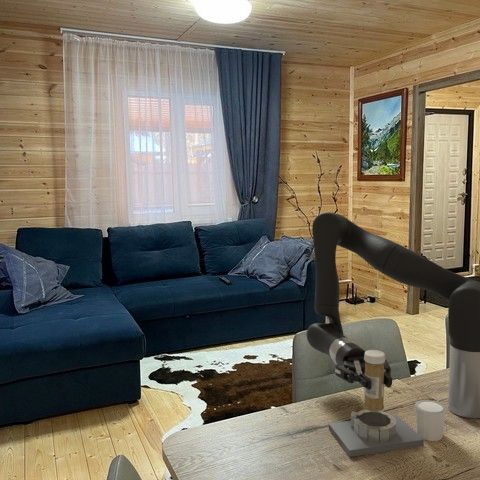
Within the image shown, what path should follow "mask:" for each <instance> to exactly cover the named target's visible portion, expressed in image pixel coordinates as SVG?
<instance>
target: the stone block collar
mask: <svg viewBox="0 0 480 480" xmlns="http://www.w3.org/2000/svg"><path fill="white" fill-rule="evenodd" d="M392 415H393V414H391V413H388V412H386V411H383V410H382V411H378V412H373V411H369V410H367V409H362V410H359V411H358V412H357V411H353V410H352V411H351V414H350V421H351V428H354V432H355V433H356V434H357V436H359V437H360V438H362V439H365V440H367V441H372V442H387V441H391V440H392V439H393V438H395V437H396V419H395V418H394V417H393V416H392ZM371 423H372V424H380V425H382V426H383V427H373V426H368V425H366V424H371Z"/></svg>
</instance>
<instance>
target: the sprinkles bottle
mask: <svg viewBox="0 0 480 480" xmlns="http://www.w3.org/2000/svg"><path fill="white" fill-rule="evenodd" d="M365 351H366V352H365V357H364V360H365V375H366V376H367V377H368V378H369V379H370V380H371V389H369V390H368V389H367V388H365V387H364V403H363V407H364V408H365V410H369V411H373V412H378V411H383V410H384V409H385V406H384V405H385V404H384V399H385V398H384V396H385V384H384V362H385V360H386V354H385V352H383V351H381V350H378V349H368V350H365Z"/></svg>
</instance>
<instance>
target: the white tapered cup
mask: <svg viewBox="0 0 480 480" xmlns="http://www.w3.org/2000/svg"><path fill="white" fill-rule="evenodd" d="M414 411H415V424H416V433H418V434H419V435H420V436H421V437H422V438H423V439H424V441H425V440H426V441H431V442H437V441H440V440H442V438H443V436H444V428H445V422H446V413H447V408H446V406H445V405H444V404H443V403H440V402H439V401H434V400H427V399H424V400H423V399H422V400H418V401H416V402H415V404H414Z"/></svg>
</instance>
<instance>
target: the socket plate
mask: <svg viewBox="0 0 480 480" xmlns="http://www.w3.org/2000/svg"><path fill="white" fill-rule="evenodd" d="M391 415H392V416H393V417H394V418H395V419H396V437H395V438H393V439H392V440H391V441H387V442H372V441H367V440H365V439H362V438H360V437H359V436H357V434H356V433H355V432H354V428H351V420H345V421H338V422H329V423H328V430H329V431H330V433H331V435H332V436H333V437H334V438H335V440H336V441H337V442H338V444H339V445H340V446H341V448H342V449H343V450H344V452H345V453H346V454H347V456H348V457H350V458H352V457H359V456H364V455H371V454H376V453H377V454H378V453H379V454H380V453H384V452H392V451H397V450H406V449H411V448H417V447H424V446H425V439H423V438H422V437H421V436H420V435H419V434H418V433H417V431H416V430H414V429H413V428H412V427H411V426H410V425H409V424H408V423H407V422H406V421H405V420H403V418H401V417H400V416H399V415H398V414H397V413H396V414H391ZM366 425H368V426H373V427H383V426H382V425H380V424H372V423H371V424H366Z"/></svg>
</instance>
